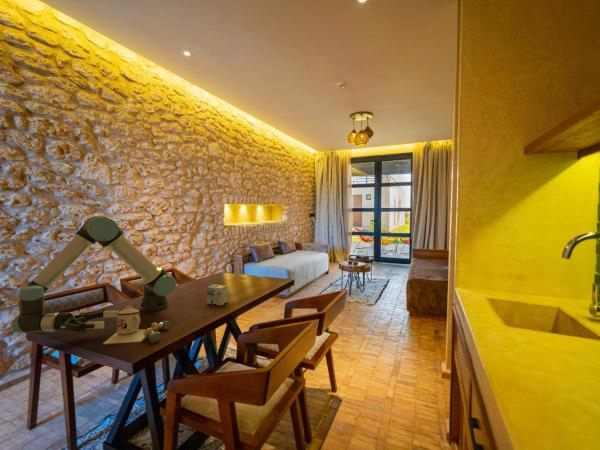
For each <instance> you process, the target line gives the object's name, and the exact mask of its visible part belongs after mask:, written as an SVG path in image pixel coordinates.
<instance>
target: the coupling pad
mask: <svg viewBox="0 0 600 450" xmlns="http://www.w3.org/2000/svg"><path fill="white" fill-rule="evenodd" d="M146 329H147V328H146ZM146 329H145V328H144V329H138V331H136V332H132V333H126V334H119V333H117V331H116V332H115V333H114V334H113V335H112V336H110V337H109V338H108V339H107V340H105V342H103V343H102V344H103V345H113V344H128V343H141V342H143V340H144V339H146V338H145V337H144V331H145V330H146Z"/></svg>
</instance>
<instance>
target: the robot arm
mask: <svg viewBox="0 0 600 450" xmlns="http://www.w3.org/2000/svg"><path fill="white" fill-rule="evenodd" d="M74 235H75V236H74V237H73V238H72V240H71V241H70V242H68V244H66V246H65V247H64V248H63V249H62V250H61V251H59V253H58V254H57V255H56V256H55V257H53V259H51V260H50V262H48V264H47V265H46V266H44V267H43V269H42V270H41V271H39V273H38V274H37V275H36V276H35V277H34V278H33V279H32V280H31V281H30V282H29V283H27V285H25V286H24V287H21V288H20V290H19V294H18V299H19V311H20V313H19V315H17V316H15V317H14V319H13V320H12V323H11V329H12V331H13V332H14V333H16V334H18V333H19V334H21V333H25V334H29V333H40V332H42V333H43V332H49V333H52V332H55V331H61V332H62V331H70V332H76V333H80V332H82V333H85V332H86V330H96V329H104V328H105V321H103V320H102V321H91V320H95V319H100V318H116V317H117V318H118V315H117V314H118V312H120V310H105V308H104V309H101V310H100V309H99V310H93V311H87V312H80V313H79V314H75V315H73V313H72V312H69V311H67V312H49V313H45V294H46V292H48V291H49V289H51V287H52V286H53V285H54V284H55V283H56V282H57V281H58V280H59V279H60V278H61V277H62V276H63V275H64V274H65V273H66V271H68V270H69V268H70V267H71V266H73V264H74V263H75V262H76V261H78V259H79V258H80V257H81V256H82V255H83V254H84V253H85V252H86V250H87V249H88V248H89V247H90V246H91V247H92V246H94V245H95V244H96V243H98V244H99V246H101V247H102V248H105V249H106V248H107V249H110V251H112V252H113V253H114V254H115V255H116V256H117V257H118V258H120V259H121V260H122V261H123V262H124V263H125V264H126V265H127V266H128V267H129V268H131V269H132V270H133V271H134V272H135V273H136V274H137V275H138V276H139V277H141V279H142V299H141V301H140V304H139V311H140V312H157V311H161V310H164V309H167V308H168V307H169V300H168V298H167V296H169V295H171V294H172V293H173V292H174V291H175V289H176V286H177V280H176V279H175V277H173V276H172V275H171V274H169V273H168V272H167V271H166V270H165V268H162V267H159V266H158V267H157V266H156V265H155V264H154V263H153V262H152V261H151V260H149V258H148V257H146V256H145V254H143V252H141V251H140V250H139V249H138V248H137V247H136V246H135V244H133V243H132V242H131V241H130V240H129V239H128V238H127V237H126V236H125V231H124V230H123V229H122V228H121V227H120V226H119V224H118V223H117V221H116V220H115V219H113V218H112V217H109V216H107V215H95V216H91V217H89V218H87V220H86V221H84V223H83V224H82V225H81V226H80V228H79V229H78V230H77V231H76V232H75V233H74Z"/></svg>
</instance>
